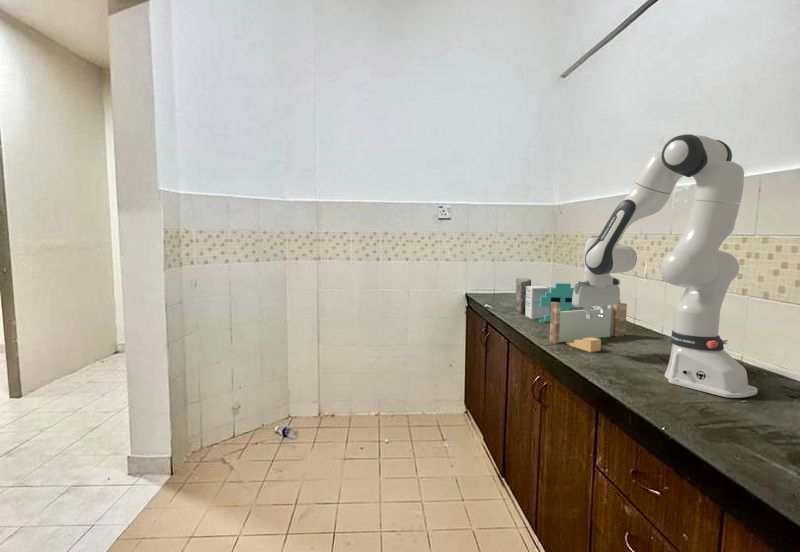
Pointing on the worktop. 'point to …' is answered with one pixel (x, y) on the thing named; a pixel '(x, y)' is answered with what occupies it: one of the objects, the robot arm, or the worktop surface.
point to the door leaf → (584, 325)
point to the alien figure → (558, 298)
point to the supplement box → (535, 302)
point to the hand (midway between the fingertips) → (595, 318)
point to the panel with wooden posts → (617, 325)
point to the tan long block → (586, 344)
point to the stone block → (521, 293)
